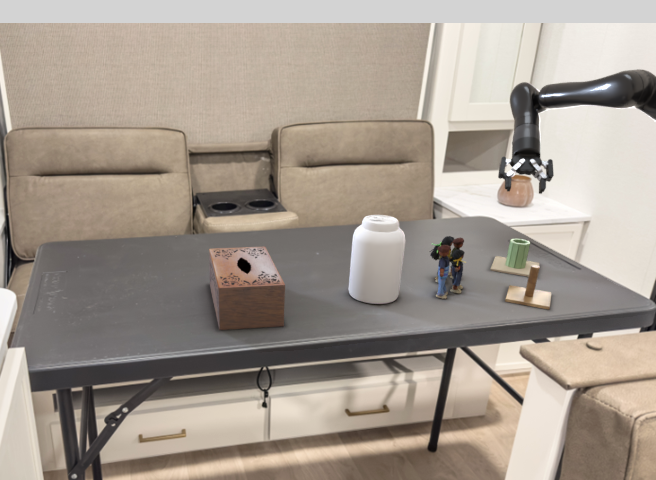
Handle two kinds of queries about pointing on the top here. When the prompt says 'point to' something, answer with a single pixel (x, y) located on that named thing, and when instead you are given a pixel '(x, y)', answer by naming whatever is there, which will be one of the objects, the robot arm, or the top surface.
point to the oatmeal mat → (501, 267)
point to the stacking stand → (529, 292)
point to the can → (376, 260)
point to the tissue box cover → (246, 288)
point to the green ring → (517, 253)
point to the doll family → (445, 257)
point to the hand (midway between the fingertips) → (525, 191)
